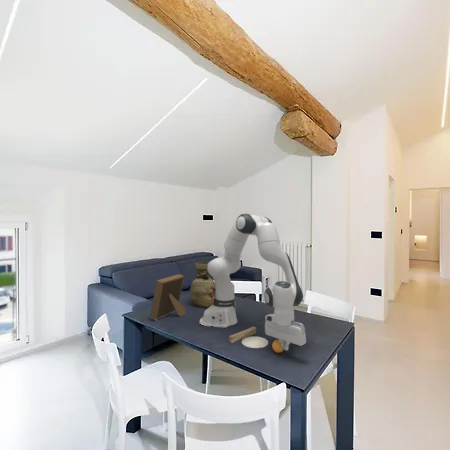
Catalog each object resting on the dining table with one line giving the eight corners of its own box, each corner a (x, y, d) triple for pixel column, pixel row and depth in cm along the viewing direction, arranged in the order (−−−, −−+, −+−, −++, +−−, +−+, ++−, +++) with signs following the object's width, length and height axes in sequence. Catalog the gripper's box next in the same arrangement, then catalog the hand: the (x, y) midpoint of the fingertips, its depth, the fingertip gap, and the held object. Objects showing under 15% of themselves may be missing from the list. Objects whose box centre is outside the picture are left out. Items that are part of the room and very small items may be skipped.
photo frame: (149, 320, 176) (149, 279, 175) (172, 309, 195) (172, 273, 194) (169, 324, 169) (168, 282, 168) (190, 313, 188) (190, 275, 188)
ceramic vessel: (224, 305, 203) (223, 263, 202) (195, 310, 194) (194, 265, 194) (214, 299, 220) (213, 260, 220) (187, 302, 212) (186, 262, 211)
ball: (276, 354, 128) (269, 343, 131) (276, 355, 133) (270, 344, 136) (286, 348, 129) (279, 336, 131) (286, 349, 133) (280, 338, 136)
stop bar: (256, 333, 154) (256, 327, 154) (232, 343, 142) (231, 337, 142) (253, 332, 156) (253, 326, 156) (229, 342, 144) (229, 336, 143)
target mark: (241, 348, 137) (241, 347, 137) (241, 336, 150) (241, 336, 150) (269, 348, 136) (269, 347, 136) (266, 337, 149) (266, 336, 149)
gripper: (308, 322, 124) (309, 354, 124) (270, 312, 139) (271, 341, 139) (300, 325, 120) (301, 359, 119) (262, 315, 135) (263, 345, 134)
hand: (285, 349), depth 129 cm, fingers closed
